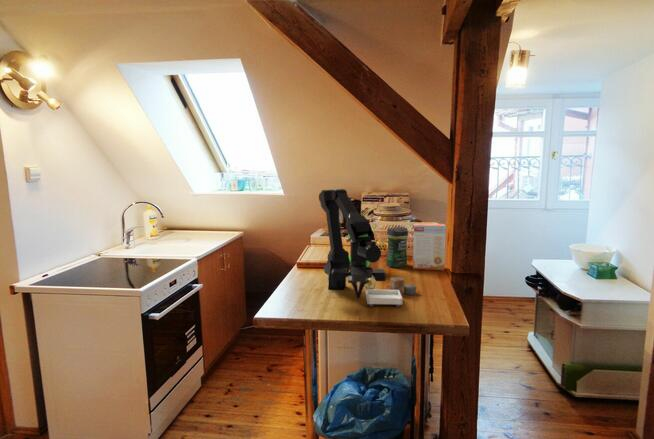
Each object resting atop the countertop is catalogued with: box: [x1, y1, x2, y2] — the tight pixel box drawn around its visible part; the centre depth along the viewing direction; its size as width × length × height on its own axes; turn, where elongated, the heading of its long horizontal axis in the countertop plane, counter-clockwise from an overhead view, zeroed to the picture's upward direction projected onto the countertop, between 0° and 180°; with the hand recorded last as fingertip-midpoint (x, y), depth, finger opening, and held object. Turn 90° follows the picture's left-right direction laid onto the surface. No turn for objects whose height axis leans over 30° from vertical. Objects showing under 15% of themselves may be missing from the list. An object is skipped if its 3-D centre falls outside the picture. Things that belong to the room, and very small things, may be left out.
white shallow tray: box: [365, 289, 404, 308], centre depth 138 cm, size 12×9×3 cm
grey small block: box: [403, 284, 417, 296], centre depth 148 cm, size 4×4×3 cm
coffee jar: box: [385, 226, 409, 269], centre depth 184 cm, size 10×8×19 cm
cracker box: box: [412, 222, 447, 271], centre depth 179 cm, size 14×6×21 cm, turn 77°
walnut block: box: [389, 276, 405, 296], centre depth 148 cm, size 4×4×6 cm
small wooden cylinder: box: [364, 277, 377, 294], centre depth 148 cm, size 4×4×6 cm
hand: (358, 297), depth 139 cm, fingers closed
